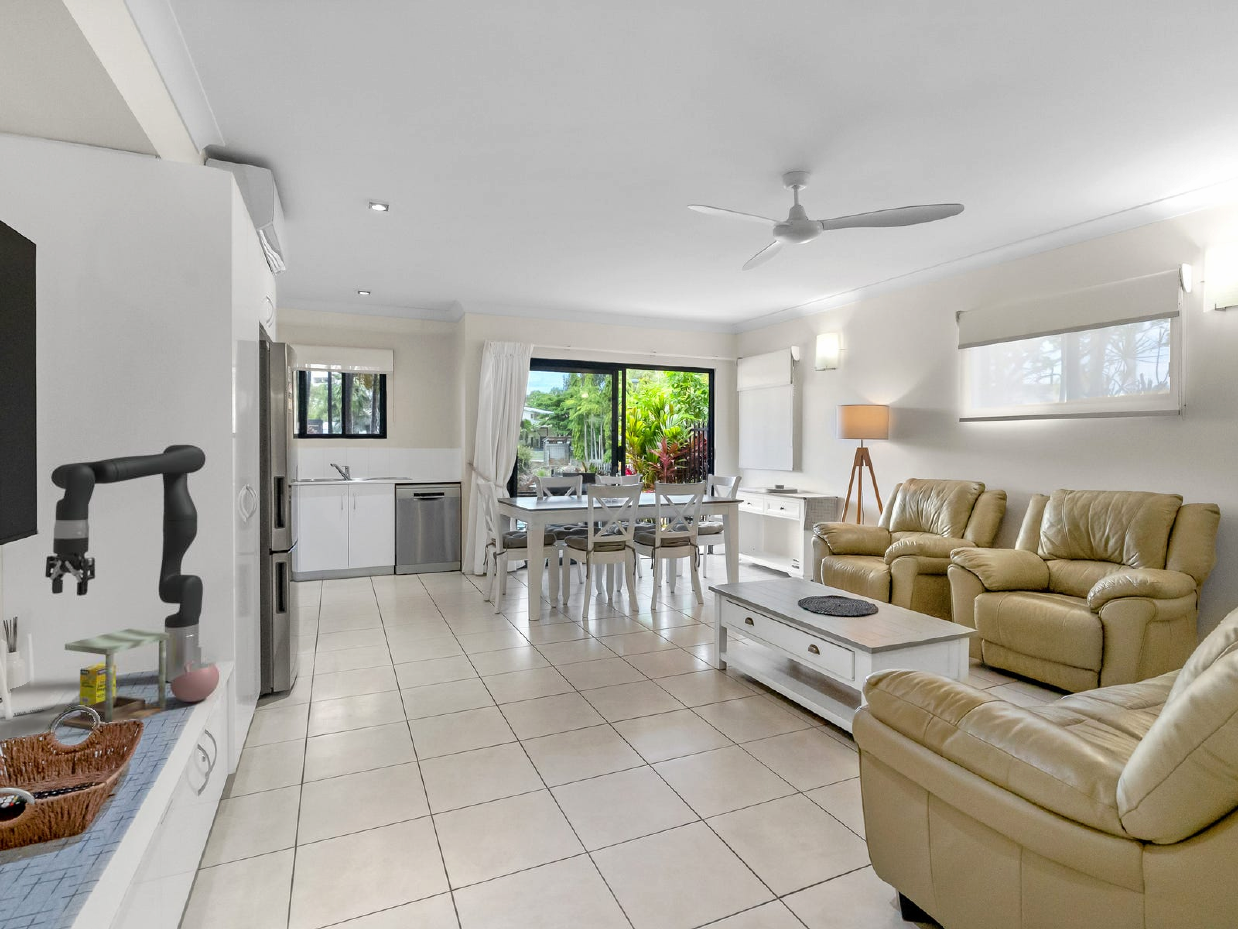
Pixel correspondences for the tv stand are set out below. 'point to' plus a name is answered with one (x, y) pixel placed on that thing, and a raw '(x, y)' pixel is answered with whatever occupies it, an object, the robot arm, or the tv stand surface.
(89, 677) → the supplement box
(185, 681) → the mortar and pestle
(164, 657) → the small green table
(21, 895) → the tv stand surface
